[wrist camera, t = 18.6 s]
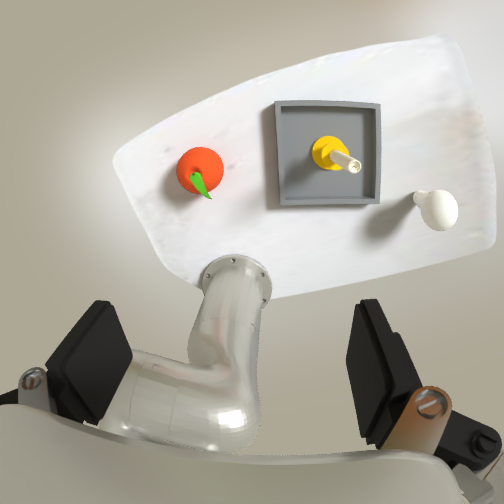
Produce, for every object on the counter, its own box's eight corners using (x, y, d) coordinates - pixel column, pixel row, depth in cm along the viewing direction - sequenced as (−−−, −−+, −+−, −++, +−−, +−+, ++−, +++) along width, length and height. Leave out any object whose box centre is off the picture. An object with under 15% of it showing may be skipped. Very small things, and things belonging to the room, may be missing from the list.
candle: (350, 159, 40) (387, 178, 26) (322, 175, 42) (346, 201, 28) (334, 129, 39) (365, 133, 25) (305, 146, 40) (321, 157, 26)
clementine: (237, 183, 44) (231, 193, 38) (199, 200, 46) (187, 213, 39) (215, 137, 41) (204, 140, 35) (177, 157, 43) (160, 163, 37)
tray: (374, 199, 43) (379, 204, 41) (280, 201, 45) (280, 205, 43) (374, 104, 37) (380, 103, 35) (274, 102, 38) (274, 101, 36)
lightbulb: (436, 195, 42) (471, 215, 32) (415, 220, 44) (446, 245, 34) (417, 171, 40) (451, 186, 30) (395, 197, 43) (425, 218, 33)
